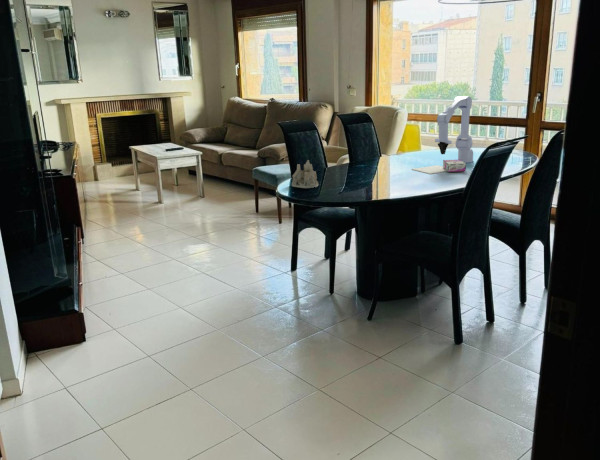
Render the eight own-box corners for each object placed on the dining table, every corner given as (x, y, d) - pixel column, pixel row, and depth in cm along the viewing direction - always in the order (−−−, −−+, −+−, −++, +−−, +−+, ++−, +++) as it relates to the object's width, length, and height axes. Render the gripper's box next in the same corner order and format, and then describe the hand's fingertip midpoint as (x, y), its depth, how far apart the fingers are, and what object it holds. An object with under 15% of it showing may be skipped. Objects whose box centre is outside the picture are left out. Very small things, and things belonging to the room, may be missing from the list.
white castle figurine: (291, 183, 336) (290, 159, 330) (318, 183, 335) (317, 159, 330) (290, 190, 321) (290, 165, 316) (318, 190, 321) (318, 165, 316)
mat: (437, 166, 363) (437, 165, 363) (456, 170, 345) (456, 169, 345) (411, 169, 356) (411, 168, 356) (430, 174, 338) (430, 173, 338)
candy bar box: (442, 167, 354) (447, 172, 338) (442, 160, 352) (447, 164, 337) (460, 167, 353) (465, 171, 337) (460, 159, 352) (466, 163, 336)
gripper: (431, 132, 352) (431, 153, 356) (445, 134, 339) (444, 156, 343) (440, 131, 354) (439, 152, 358) (454, 133, 341) (454, 154, 345)
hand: (442, 154), depth 351 cm, fingers closed
